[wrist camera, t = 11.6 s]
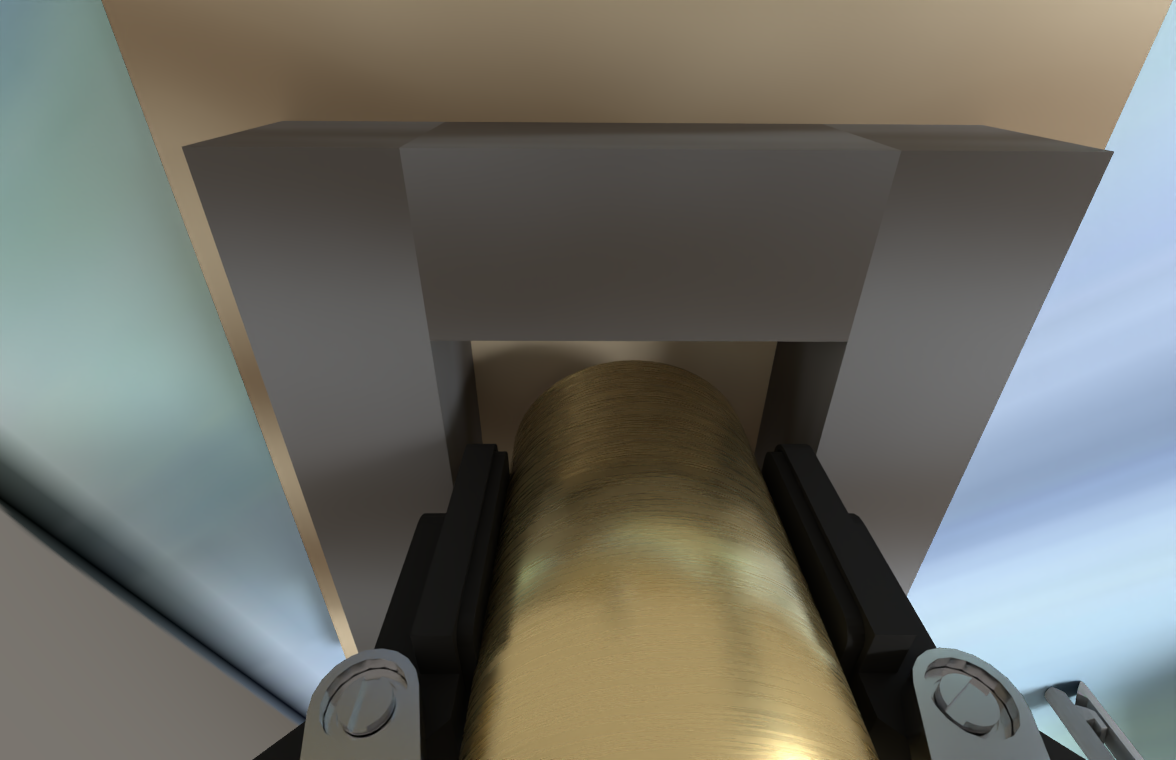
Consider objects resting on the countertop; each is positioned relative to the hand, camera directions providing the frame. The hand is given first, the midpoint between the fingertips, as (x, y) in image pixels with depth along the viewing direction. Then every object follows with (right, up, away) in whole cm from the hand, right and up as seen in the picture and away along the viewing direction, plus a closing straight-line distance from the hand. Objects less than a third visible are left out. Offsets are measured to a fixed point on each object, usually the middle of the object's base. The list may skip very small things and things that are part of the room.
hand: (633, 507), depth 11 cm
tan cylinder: (0, +1, +1) cm, 1 cm away
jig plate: (0, +2, +4) cm, 5 cm away
